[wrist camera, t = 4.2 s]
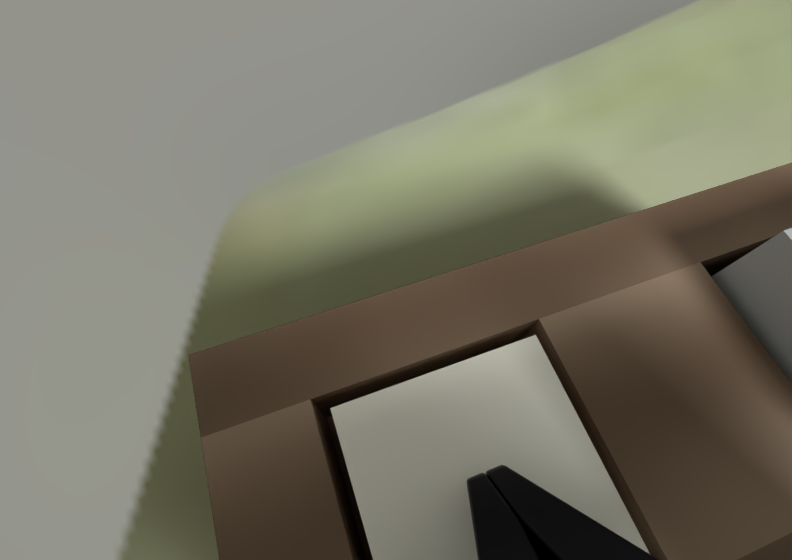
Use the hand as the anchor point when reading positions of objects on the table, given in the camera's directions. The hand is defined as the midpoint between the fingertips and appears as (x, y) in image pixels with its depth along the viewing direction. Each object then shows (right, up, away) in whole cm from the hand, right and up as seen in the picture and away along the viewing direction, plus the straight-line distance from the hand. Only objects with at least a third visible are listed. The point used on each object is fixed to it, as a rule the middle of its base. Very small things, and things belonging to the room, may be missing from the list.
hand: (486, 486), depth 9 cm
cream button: (0, -1, +3) cm, 3 cm away
